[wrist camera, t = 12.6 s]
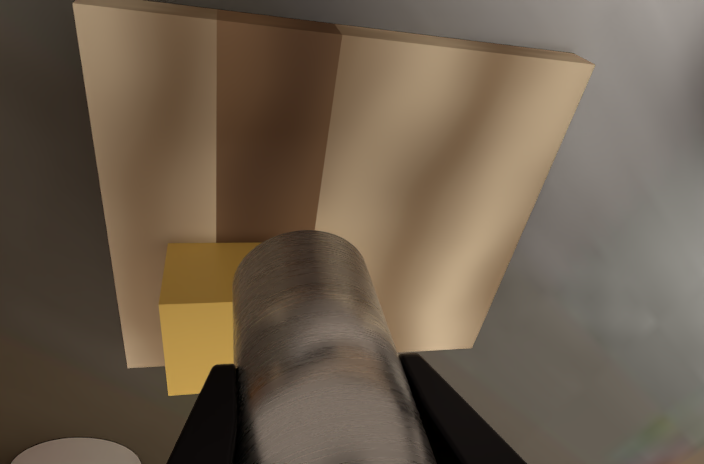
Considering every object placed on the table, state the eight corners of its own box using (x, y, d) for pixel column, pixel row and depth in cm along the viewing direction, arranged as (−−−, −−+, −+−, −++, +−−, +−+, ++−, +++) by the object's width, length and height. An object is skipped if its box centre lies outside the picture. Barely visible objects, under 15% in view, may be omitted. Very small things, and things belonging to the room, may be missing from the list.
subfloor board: (573, 53, 20) (595, 64, 19) (461, 328, 29) (471, 348, 28) (84, -7, 15) (72, 3, 14) (132, 343, 24) (127, 368, 23)
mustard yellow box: (339, 241, 21) (356, 297, 18) (326, 323, 24) (339, 381, 21) (168, 243, 19) (158, 304, 17) (175, 330, 22) (168, 395, 19)
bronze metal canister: (378, 230, 11) (580, 705, 5) (355, 329, 13) (480, 768, 7) (233, 229, 10) (246, 801, 4) (230, 334, 12) (235, 842, 6)
